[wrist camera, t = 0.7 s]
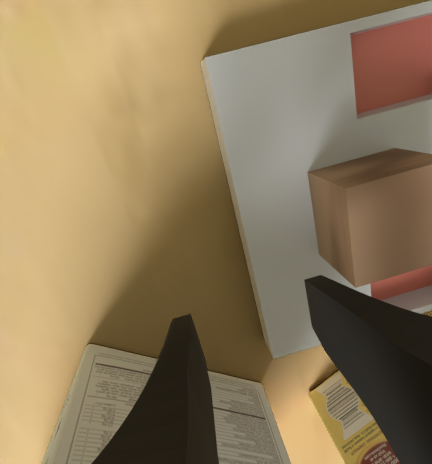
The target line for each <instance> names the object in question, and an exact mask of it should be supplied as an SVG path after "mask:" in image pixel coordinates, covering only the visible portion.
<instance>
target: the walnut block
mask: <svg viewBox="0 0 432 464" xmlns="http://www.w3.org/2000/svg"><path fill="white" fill-rule="evenodd" d="M308 179H309V187H310V194H311V201H312V208H313V215H314V222H315V229H316V236H317V243H318V251H319V255H320V256H321V257H322V258H323V259H324V260H326V261H327V262H328V263H329V264H330V265H331V266H332V267H333V268H334V269H335V270H336V271H338V272H339V273H340V274H341V275H342V276H343V277H344V278H345V279H346V280H347V281H348V282H349V283H351V284H352V285H353V286H354V287H355V288H357V287H360V286H364V285H367V284H370V283H374V282H377V281H380V280H384V279H387V278H390V277H394V276H397V275H400V274H403V273H407V272H410V271H413V270H417V269H420V268H423V267H427V266H430V265H432V154H428V153H422V152H416V151H411V150H405V149H399V148H392V149H389V150H385V151H382V152H378V153H374V154H371V155H367V156H364V157H360V158H357V159H353V160H349V161H346V162H342V163H339V164H335V165H331V166H328V167H324V168H321V169H317V170H313V171H310V172H308Z"/></svg>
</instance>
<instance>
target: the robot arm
mask: <svg viewBox="0 0 432 464" xmlns="http://www.w3.org/2000/svg"><path fill="white" fill-rule="evenodd" d="M304 282H305V288H306V294H307V300H308V306H309V312H310V318H311V324H312V328H313V330H314V332H315V333H316V335H317V337H318V339H319V341H320V343H321V344H322V346H323V348H324V350H325V351H326V353H327V354H328V356H329V357H330V358H331V360H332V361H333V362H334V364H335V365H336V367H337V368H338V369H339V371H340V372H341V373H342V375H343V376H344V377H345V379H346V380H347V382H348V383H349V384H350V386H351V387H352V388H353V390H354V391H355V392H356V394H357V395H358V396H359V398H360V399H361V400H362V402H363V403H364V405H365V406H366V407H367V409H368V410H369V412H370V413H371V415H372V416H373V418H374V420H375V421H376V423H377V425H378V426H379V428H380V430H381V431H382V433H383V434H384V436H385V438H386V439H387V441H388V443H389V444H390V446H391V448H392V450H393V451H394V453H395V455H396V456H397V458H398V460H399V462H400V463H401V464H432V317H431V316H427V315H423V314H420V313H416V312H413V311H410V310H406V309H403V308H400V307H397V306H395V305H392V304H389V303H386V302H384V301H381V300H378V299H376V298H373V297H371V296H368V295H366V294H363V293H361V292H359V291H356V290H354V289H352V288H350V287H347V286H345V285H343V284H341V283H338V282H336V281H334V280H332V279H329V278H327V277H325V276H322V275H319V276H315V277H312V278H309V279H305V280H304ZM91 464H219V459H218V451H217V441H216V431H215V421H214V411H213V401H212V392H211V384H210V380H209V375H208V370H207V366H206V361H205V357H204V354H203V351H202V348H201V345H200V342H199V339H198V336H197V333H196V329H195V326H194V323H193V320H192V317H191V314H188V315H184V316H181V317H178V318H174V319H173V320H172V322H171V324H170V328H169V331H168V334H167V337H166V340H165V342H164V345H163V348H162V350H161V353H160V355H159V357H158V360H157V362H156V364H155V367H154V369H153V371H152V373H151V375H150V377H149V379H148V381H147V383H146V385H145V387H144V389H143V391H142V392H141V394H140V396H139V398H138V400H137V401H136V403H135V405H134V406H133V408H132V410H131V411H130V413H129V414H128V416H127V417H126V419H125V420H124V422H123V423H122V425H121V426H120V427H119V429H118V430H117V432H116V433H115V434H114V436H113V437H112V439H111V440H110V441H109V443H108V444H107V445H106V446H105V448H104V449H103V450H102V451H101V453H100V454H99V455H98V456H97V458H96V459H95V460H94V461H93V462H92V463H91Z"/></svg>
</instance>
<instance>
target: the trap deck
mask: <svg viewBox="0 0 432 464" xmlns="http://www.w3.org/2000/svg"><path fill="white" fill-rule="evenodd" d="M200 64H201V68H202V72H203V77H204V81H205V85H206V90H207V94H208V98H209V103H210V107H211V111H212V116H213V120H214V124H215V129H216V133H217V137H218V142H219V146H220V150H221V154H222V159H223V163H224V167H225V172H226V176H227V180H228V185H229V189H230V193H231V198H232V202H233V206H234V211H235V215H236V219H237V223H238V228H239V232H240V236H241V241H242V245H243V249H244V254H245V258H246V262H247V267H248V271H249V275H250V280H251V284H252V288H253V292H254V297H255V301H256V305H257V310H258V314H259V318H260V323H261V327H262V331H263V336H264V340H265V342H266V344H267V347H268V349H269V351H270V353H271V355H272V358H273V359H276V358H280V357H283V356H286V355H289V354H293V353H296V352H299V351H302V350H305V349H309V348H312V347H315V346H318V345H322V344H321V343H320V341H319V339H318V337H317V335H316V333H315V332H314V330H313V328H312V324H311V318H310V312H309V306H308V300H307V294H306V288H305V282H304V280H305V279H309V278H312V277H315V276H319V275H322V276H325V277H327V278H329V279H332V280H334V281H336V282H338V283H341V284H343V285H345V286H347V287H350V288H352V289H354V290H356V291H359V292H361V293H363V294H366V295H368V296H371V297H373V298H376V299H378V300H381V301H384V302H386V303H389V304H392V305H395V306H397V307H400V308H403V309H406V310H410V311H413V312H416V313H420V314H421V313H424V312H428V311H431V310H432V265H430V266H427V267H423V268H420V269H417V270H413V271H410V272H407V273H403V274H400V275H397V276H394V277H390V278H387V279H384V280H380V281H377V282H374V283H370V284H367V285H364V286H360V287H357V288H355V287H354V286H353V285H352V284H351V283H349V282H348V281H347V280H346V279H345V278H344V277H343V276H342V275H341V274H340V273H339V272H338V271H336V270H335V269H334V268H333V267H332V266H331V265H330V264H329V263H328V262H327V261H326V260H324V259H323V258H322V257H321V256H320V255H319V251H318V243H317V236H316V229H315V222H314V215H313V208H312V201H311V194H310V187H309V179H308V172H310V171H313V170H317V169H321V168H324V167H328V166H331V165H335V164H339V163H342V162H346V161H349V160H353V159H357V158H360V157H364V156H367V155H371V154H374V153H378V152H382V151H385V150H389V149H392V148H399V149H405V150H411V151H416V152H422V153H428V154H432V0H431V1H427V2H423V3H419V4H415V5H411V6H407V7H403V8H399V9H395V10H391V11H387V12H383V13H379V14H375V15H371V16H367V17H363V18H359V19H356V20H352V21H348V22H344V23H340V24H336V25H332V26H328V27H324V28H320V29H316V30H312V31H308V32H304V33H300V34H296V35H292V36H288V37H284V38H280V39H276V40H272V41H269V42H265V43H261V44H257V45H253V46H249V47H245V48H241V49H237V50H233V51H229V52H225V53H221V54H217V55H213V56H209V57H205V58H204V59H203V60H202V62H201V63H200Z"/></svg>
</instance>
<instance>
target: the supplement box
mask: <svg viewBox="0 0 432 464" xmlns="http://www.w3.org/2000/svg"><path fill="white" fill-rule="evenodd" d="M157 360H158V359H155V358H151V357H146V356H142V355H138V354H133V353H129V352H125V351H120V350H116V349H112V348H107V347H103V346H99V345H94V344H88V345H87V346H86V348H85V351H84V353H83V356H82V358H81V361H80V364H79V366H78V369H77V372H76V374H75V377H74V379H73V382H72V385H71V387H70V390H69V393H68V395H67V398H66V401H65V403H64V406H63V409H62V411H61V414H60V417H59V419H58V422H57V425H56V427H55V430H54V433H53V435H52V438H51V441H50V444H49V446H48V449H47V452H46V455H45V458H44V460H43V463H42V464H91V463H92V462H93V461H94V460H95V459H96V458H97V456H98V455H99V454H100V453H101V451H102V450H103V449H104V448H105V446H106V445H107V444H108V443H109V441H110V440H111V439H112V437H113V436H114V434H115V433H116V432H117V430H118V429H119V427H120V426H121V425H122V423H123V422H124V420H125V419H126V417H127V416H128V414H129V413H130V411H131V410H132V408H133V406H134V405H135V403H136V401H137V400H138V398H139V396H140V394H141V392H142V391H143V389H144V387H145V385H146V383H147V381H148V379H149V377H150V375H151V373H152V371H153V369H154V367H155V364H156V362H157ZM208 375H209V380H210V384H211V392H212V401H213V411H214V421H215V431H216V441H217V451H218V459H219V464H291V462H290V459H289V457H288V454H287V451H286V448H285V446H284V443H283V440H282V437H281V435H280V432H279V429H278V426H277V423H276V420H275V418H274V415H273V412H272V409H271V407H270V404H269V401H268V399H267V396H266V393H265V390H264V388H263V386H262V384H261V383H258V382H254V381H249V380H245V379H241V378H236V377H232V376H228V375H224V374H219V373H215V372H211V371H208Z"/></svg>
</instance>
